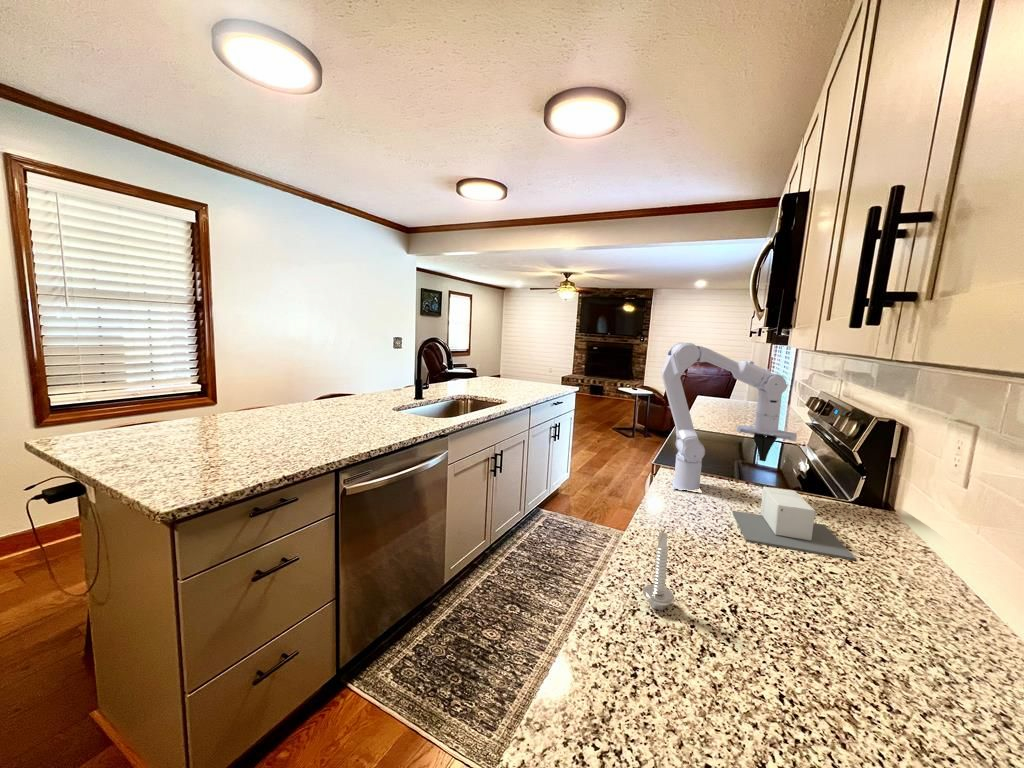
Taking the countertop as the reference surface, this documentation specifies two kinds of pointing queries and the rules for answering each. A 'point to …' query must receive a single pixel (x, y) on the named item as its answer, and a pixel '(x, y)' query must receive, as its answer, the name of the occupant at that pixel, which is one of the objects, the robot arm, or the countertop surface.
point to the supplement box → (787, 513)
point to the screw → (659, 578)
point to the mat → (762, 533)
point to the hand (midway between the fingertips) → (762, 460)
